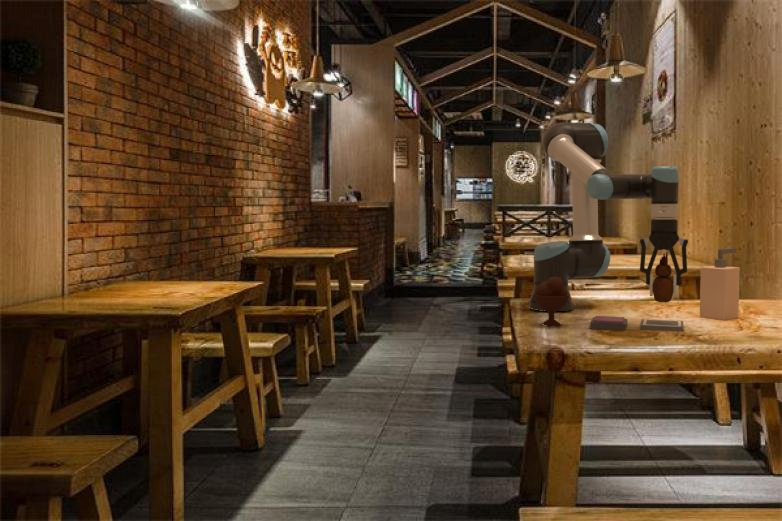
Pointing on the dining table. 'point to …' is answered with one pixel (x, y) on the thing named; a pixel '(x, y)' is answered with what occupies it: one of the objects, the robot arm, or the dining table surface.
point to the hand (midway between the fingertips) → (662, 295)
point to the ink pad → (608, 323)
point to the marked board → (662, 325)
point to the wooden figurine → (663, 281)
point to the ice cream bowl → (551, 298)
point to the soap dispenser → (720, 289)
